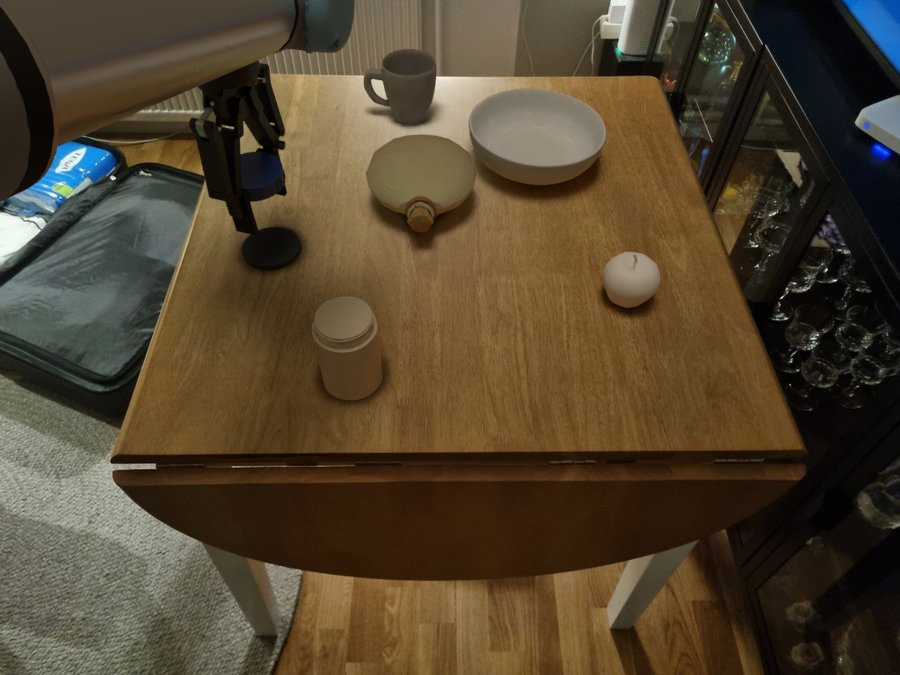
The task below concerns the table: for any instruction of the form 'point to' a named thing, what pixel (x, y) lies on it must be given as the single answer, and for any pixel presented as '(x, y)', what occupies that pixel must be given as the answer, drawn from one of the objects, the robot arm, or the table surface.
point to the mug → (405, 84)
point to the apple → (631, 279)
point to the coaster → (271, 248)
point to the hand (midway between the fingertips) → (262, 211)
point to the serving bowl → (536, 135)
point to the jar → (348, 347)
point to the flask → (421, 177)
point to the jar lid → (261, 175)
